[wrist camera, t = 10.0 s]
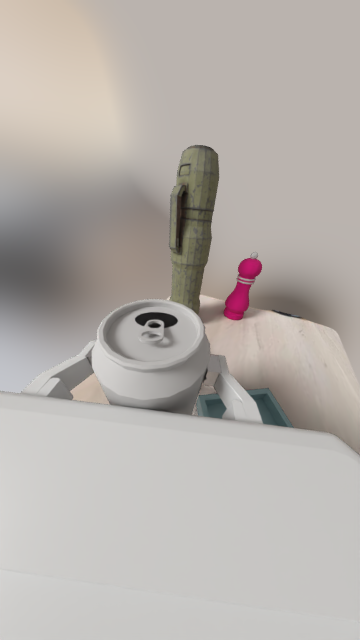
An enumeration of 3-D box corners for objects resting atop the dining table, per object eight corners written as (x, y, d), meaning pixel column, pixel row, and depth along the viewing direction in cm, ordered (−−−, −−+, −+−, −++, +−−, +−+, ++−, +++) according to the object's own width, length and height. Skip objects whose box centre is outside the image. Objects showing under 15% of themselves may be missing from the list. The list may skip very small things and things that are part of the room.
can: (188, 376, 19) (206, 296, 11) (193, 452, 13) (235, 383, 5) (132, 374, 18) (114, 289, 11) (109, 451, 12) (36, 375, 5)
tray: (325, 508, 16) (346, 508, 14) (223, 535, 14) (232, 540, 12) (261, 396, 26) (268, 388, 24) (196, 403, 24) (198, 395, 22)
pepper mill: (243, 312, 50) (268, 252, 38) (243, 323, 44) (272, 257, 33) (223, 307, 52) (241, 248, 40) (220, 317, 46) (240, 252, 34)
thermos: (159, 322, 42) (155, 140, 21) (182, 307, 50) (195, 164, 29) (183, 335, 38) (208, 128, 17) (203, 316, 46) (237, 159, 25)
